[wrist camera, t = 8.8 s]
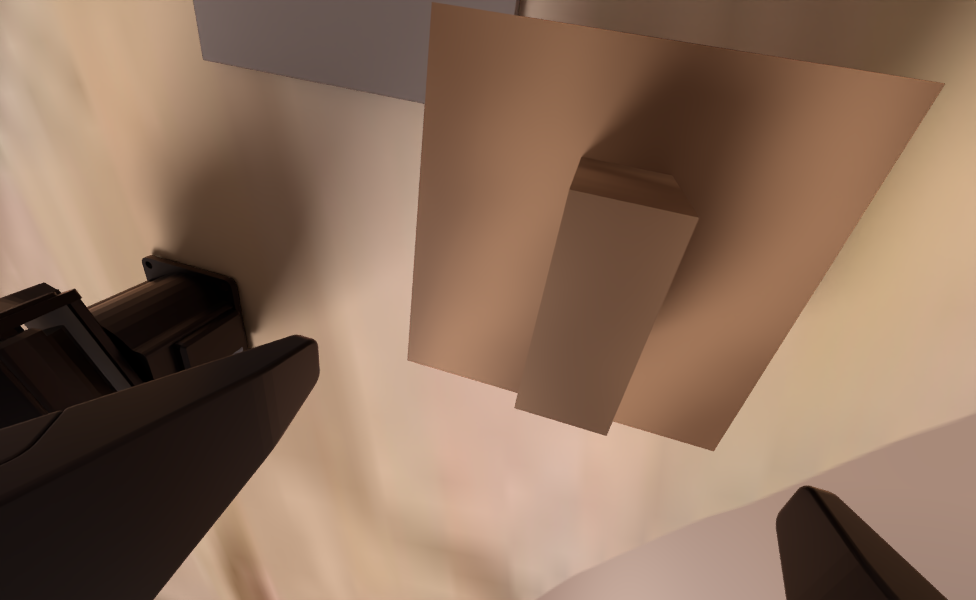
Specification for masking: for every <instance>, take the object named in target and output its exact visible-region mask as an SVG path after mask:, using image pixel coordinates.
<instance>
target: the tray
mask: <svg viewBox="0 0 976 600" xmlns="http://www.w3.org/2000/svg"><path fill="white" fill-rule="evenodd" d="M432 2H436V3H442V4H448V5H455V6H461V7H467V8H473V9H480V10H486V11H492V12H499V13H505V14H511V15H517V16H518V9H519V3H520V0H193V3H194V9H195V15H196V21H197V26H198V32H199V38H200V44H201V50H202V56H203V60H206V61H211V62H216V63H221V64H226V65H231V66H236V67H242V68H247V69H252V70H257V71H262V72H267V73H272V74H277V75H282V76H287V77H292V78H297V79H302V80H307V81H312V82H317V83H322V84H327V85H332V86H337V87H343V88H348V89H353V90H358V91H363V92H368V93H373V94H378V95H383V96H388V97H393V98H398V99H403V100H408V101H413V102H418V103H423V104H425V94H426V79H427V64H428V50H429V35H430V20H431V5H432Z"/></svg>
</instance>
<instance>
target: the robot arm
mask: <svg viewBox="0 0 976 600" xmlns="http://www.w3.org/2000/svg"><path fill="white" fill-rule="evenodd" d="M142 264H143V267H144V271H145V274H146V277H147V281H145V282H143V283H141V284H139V285H136V286H134V287H132V288H129V289H127V290H125V291H123V292H120V293H118V294H116V295H113V296H111V297H109V298H107V299H104V300H102V301H100V302H97V303H95V304H93V305H91V306H88V307H86V306H85V304H84V303H83V302H82V300H81V298H82V297H81V296H80V294H79V293H78V292H77V290H76V289H72V290H69V291H66V292H62V293H61V292H60V291H59V289H58V290H57V289H55V288H53V287H51V286H50V285H48V284H46V283H41V284H38V285H35V286H32V287H30V288H27V289H24V290H21V291H19V292H16V293H13V294H10V295H8V296H5V297H2V298H0V600H154V598H155V597H156V596H157V595H158V593H159V592H160V591H161V590H162V588H163V587H164V586H165V585H166V583H167V582H168V581H169V580H170V578H171V577H172V576H173V574H174V573H175V572H176V571H177V569H178V568H179V567H180V566H181V564H182V563H183V562H184V561H185V559H186V558H187V557H188V556H189V554H190V553H191V552H192V551H193V549H194V548H195V547H196V546H197V544H198V543H199V542H200V541H201V539H202V538H203V537H204V536H205V534H206V533H207V532H208V531H209V529H210V528H211V527H212V526H213V524H214V523H215V522H216V521H217V519H218V518H219V517H220V516H221V514H222V513H223V512H224V511H225V509H226V508H227V507H228V506H229V504H230V503H231V502H232V501H233V499H234V498H235V497H236V496H237V494H238V493H239V492H240V491H241V489H242V488H243V487H244V486H245V484H246V483H247V482H248V481H249V479H250V478H251V477H252V475H253V474H254V473H255V472H256V470H257V469H258V468H259V467H260V465H261V464H262V463H263V462H264V460H265V459H266V458H267V457H268V455H269V454H270V453H271V451H272V450H273V449H274V447H275V446H276V444H277V443H278V442H279V440H280V439H281V437H282V436H283V434H284V432H285V431H286V429H287V428H288V426H289V425H290V423H291V422H292V420H293V419H294V417H295V415H296V414H297V412H298V411H299V409H300V408H301V406H302V405H303V403H304V401H305V400H306V398H307V397H308V395H309V394H310V392H311V391H312V389H313V388H314V386H315V384H316V383H317V380H318V378H319V373H320V368H319V353H318V344H317V342H316V341H315V340H314V339H312V338H308V337H305V336H301V335H292V336H289V337H286V338H283V339H280V340H277V341H273V342H270V343H267V344H264V345H261V346H258V347H255V348H252V349H249V350H248V347H247V341H246V335H245V330H244V324H243V318H242V313H241V307H240V301H239V296H238V290H237V285H236V283H235V281H234V280H233V279H232V278H230V277H227V276H223V275H220V274H216V273H213V272H209V271H206V270H202V269H199V268H195V267H192V266H188V265H185V264H181V263H178V262H174V261H171V260H167V259H164V258H160V257H157V256H153V255H150V256H147V257H144V258H143V259H142ZM22 324H25V326H26V327H27V328H28V330H25V331H24V329H23V328H22V327H21V326H20V325H22ZM776 532H777V538H778V546H779V553H780V559H781V566H782V572H783V580H784V587H785V594H786V600H948V599H947V598H945V596H943V595H942V594H941V593H940V592H939V591H938V590H937V589H936V588H935V587H934V586H933V585H932V584H931V583H930V582H928V581H927V580H926V579H925V578H924V577H923V576H922V575H921V574H920V573H919V572H918V571H917V570H916V569H915V568H914V567H912V566H911V565H910V564H909V563H908V562H907V561H906V560H905V559H904V558H903V557H902V556H901V555H899V554H898V553H897V552H896V551H895V550H894V549H893V548H892V547H891V546H890V545H889V544H888V543H887V542H886V541H885V540H884V539H883V538H881V537H880V536H879V535H878V534H877V533H876V532H875V531H874V530H873V529H872V528H871V527H870V526H869V525H868V524H866V523H865V522H864V521H863V520H862V519H861V518H860V517H859V516H858V515H857V514H856V513H855V512H853V510H852V509H850V508H849V507H848V506H847V505H846V504H845V503H844V502H843V501H842V500H841V499H840V498H839V497H838V496H836V495H835V494H833V493H831V492H829V491H826V490H822V489H819V488H816V487H812V486H803V487H800V488H799V489H798V490H797V491H796V493H795V494H794V495H793V496H792V497H791V498H790V500H789V501H788V502H787V503H786V505H785V506H784V507H783V508H782V509H781V511H780V512H779V513H778V516H777V519H776Z"/></svg>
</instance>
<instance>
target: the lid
mask: <svg viewBox="0 0 976 600" xmlns="http://www.w3.org/2000/svg"><path fill="white" fill-rule="evenodd" d="M944 85H945V83H938V82H932V81H926V80H920V79H913V78H907V77H901V76H894V75H888V74H882V73H876V72H869V71H863V70H857V69H851V68H844V67H838V66H832V65H825V64H819V63H813V62H807V61H800V60H794V59H788V58H781V57H775V56H769V55H763V54H756V53H750V52H744V51H737V50H731V49H725V48H719V47H712V46H706V45H700V44H693V43H687V42H681V41H675V40H668V39H662V38H656V37H649V36H643V35H637V34H631V33H624V32H618V31H612V30H605V29H599V28H593V27H587V26H580V25H574V24H568V23H561V22H555V21H549V20H543V19H536V18H530V17H524V16H517V15H511V14H505V13H499V12H492V11H486V10H480V9H473V8H467V7H461V6H455V5H448V4H442V3H436V2H432V5H431V20H430V35H429V50H428V64H427V79H426V94H425V109H424V123H423V138H422V153H421V168H420V182H419V197H418V212H417V227H416V242H415V256H414V271H413V286H412V301H411V315H410V330H409V345H408V361H412V362H415V363H418V364H422V365H425V366H429V367H432V368H435V369H439V370H442V371H445V372H449V373H452V374H455V375H459V376H462V377H466V378H469V379H472V380H476V381H479V382H482V383H486V384H489V385H492V386H496V387H499V388H503V389H506V390H509V391H513V392H516V393H518V395H517V399H516V403H515V407H514V408H516V409H519V410H523V411H526V412H529V413H533V414H536V415H539V416H543V417H546V418H549V419H553V420H556V421H559V422H562V423H566V424H569V425H572V426H576V427H579V428H582V429H586V430H589V431H592V432H595V433H599V434H602V435H605V436H607V433H608V431H609V429H610V426H611V424H612V422H613V421H614V422H617V423H620V424H624V425H627V426H630V427H634V428H637V429H641V430H644V431H647V432H651V433H654V434H657V435H661V436H664V437H667V438H671V439H674V440H678V441H681V442H684V443H688V444H691V445H694V446H698V447H701V448H704V449H708V450H711V451H714V450H715V448H716V447H717V445H718V444H719V442H720V440H721V439H722V437H723V436H724V434H725V433H726V431H727V429H728V428H729V426H730V425H731V423H732V421H733V420H734V418H735V417H736V415H737V413H738V412H739V410H740V409H741V407H742V406H743V404H744V402H745V401H746V399H747V398H748V396H749V394H750V393H751V391H752V390H753V388H754V386H755V385H756V383H757V382H758V380H759V379H760V377H761V375H762V374H763V372H764V371H765V369H766V367H767V366H768V364H769V363H770V361H771V359H772V358H773V356H774V355H775V353H776V352H777V350H778V348H779V347H780V345H781V344H782V342H783V340H784V339H785V337H786V336H787V334H788V332H789V331H790V329H791V328H792V326H793V325H794V323H795V321H796V320H797V318H798V317H799V315H800V313H801V312H802V310H803V309H804V307H805V305H806V304H807V302H808V301H809V299H810V298H811V296H812V294H813V293H814V291H815V290H816V288H817V286H818V285H819V283H820V282H821V280H822V278H823V277H824V275H825V274H826V272H827V271H828V269H829V267H830V266H831V264H832V263H833V261H834V259H835V258H836V256H837V255H838V253H839V251H840V250H841V248H842V247H843V245H844V244H845V242H846V240H847V239H848V237H849V236H850V234H851V232H852V231H853V229H854V228H855V226H856V225H857V223H858V221H859V220H860V218H861V217H862V215H863V213H864V212H865V210H866V209H867V207H868V205H869V204H870V202H871V201H872V199H873V198H874V196H875V194H876V193H877V191H878V190H879V188H880V186H881V185H882V183H883V182H884V180H885V178H886V177H887V175H888V174H889V172H890V171H891V169H892V167H893V166H894V164H895V163H896V161H897V159H898V158H899V156H900V155H901V153H902V151H903V150H904V148H905V147H906V145H907V144H908V142H909V140H910V139H911V137H912V136H913V134H914V132H915V131H916V129H917V128H918V126H919V124H920V123H921V121H922V120H923V118H924V117H925V115H926V113H927V112H928V110H929V109H930V107H931V105H932V104H933V102H934V101H935V99H936V97H937V96H938V94H939V93H940V91H941V90H942V88H943V86H944Z"/></svg>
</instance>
